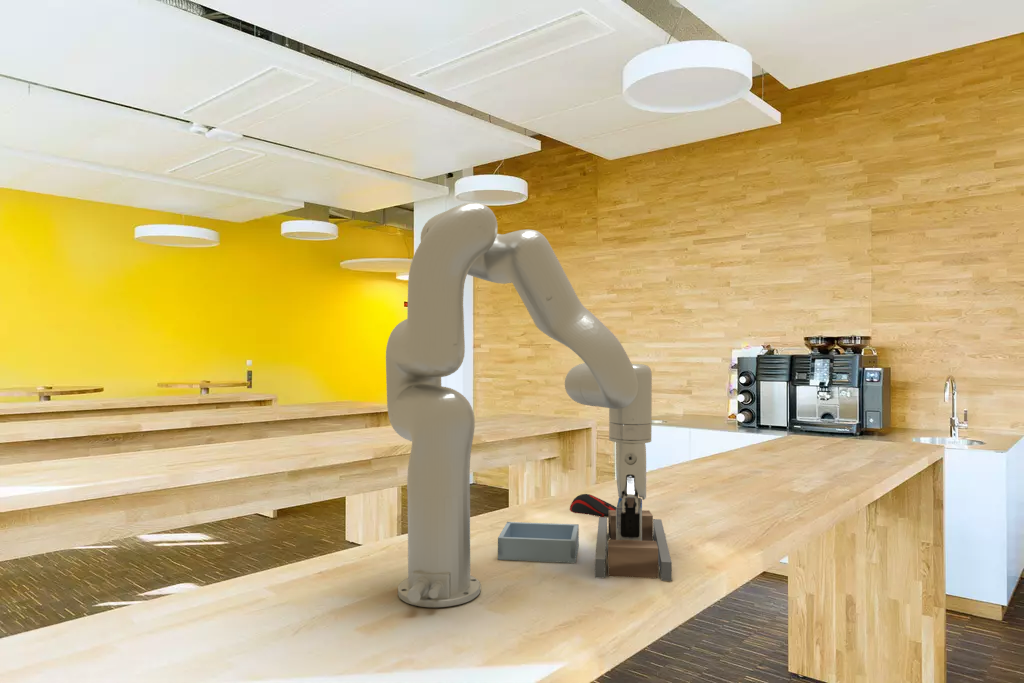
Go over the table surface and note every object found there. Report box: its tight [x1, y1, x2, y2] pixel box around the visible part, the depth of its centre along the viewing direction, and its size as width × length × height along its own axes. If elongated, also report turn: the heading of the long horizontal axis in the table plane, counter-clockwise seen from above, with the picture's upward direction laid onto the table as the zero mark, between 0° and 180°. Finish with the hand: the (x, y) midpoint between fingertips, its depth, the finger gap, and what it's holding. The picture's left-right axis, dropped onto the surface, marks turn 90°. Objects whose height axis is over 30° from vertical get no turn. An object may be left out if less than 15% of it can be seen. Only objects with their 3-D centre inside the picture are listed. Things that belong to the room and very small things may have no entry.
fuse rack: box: [594, 516, 673, 582], centre depth 124 cm, size 26×12×3 cm, turn 171°
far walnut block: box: [607, 509, 654, 541], centre depth 133 cm, size 4×8×5 cm, turn 89°
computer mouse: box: [569, 493, 617, 518], centre depth 154 cm, size 6×11×4 cm, turn 52°
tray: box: [497, 521, 580, 564], centre depth 125 cm, size 11×14×4 cm
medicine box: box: [615, 496, 643, 541], centre depth 123 cm, size 8×4×9 cm, turn 169°
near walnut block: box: [607, 539, 659, 579], centre depth 114 cm, size 4×8×5 cm, turn 83°
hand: (629, 529), depth 123 cm, fingers closed on medicine box, 8 cm apart
